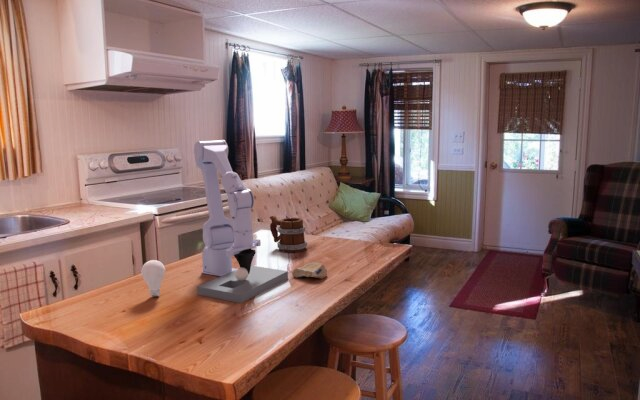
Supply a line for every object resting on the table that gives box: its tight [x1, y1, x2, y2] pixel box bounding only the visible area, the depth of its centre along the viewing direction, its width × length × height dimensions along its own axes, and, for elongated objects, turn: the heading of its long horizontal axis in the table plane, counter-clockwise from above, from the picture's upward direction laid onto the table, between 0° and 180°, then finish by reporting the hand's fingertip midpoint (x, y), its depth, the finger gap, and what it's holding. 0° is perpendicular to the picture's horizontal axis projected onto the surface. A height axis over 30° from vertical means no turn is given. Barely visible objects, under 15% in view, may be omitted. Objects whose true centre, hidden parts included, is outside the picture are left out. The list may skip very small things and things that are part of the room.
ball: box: [235, 266, 248, 281], centre depth 154 cm, size 4×4×4 cm
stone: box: [291, 261, 328, 280], centre depth 164 cm, size 8×10×4 cm
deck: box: [196, 265, 289, 304], centre depth 156 cm, size 16×24×2 cm, turn 150°
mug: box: [269, 215, 308, 254], centre depth 198 cm, size 12×14×15 cm
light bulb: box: [140, 259, 166, 298], centre depth 148 cm, size 7×7×11 cm
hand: (245, 274), depth 155 cm, fingers closed, pressing on ball
